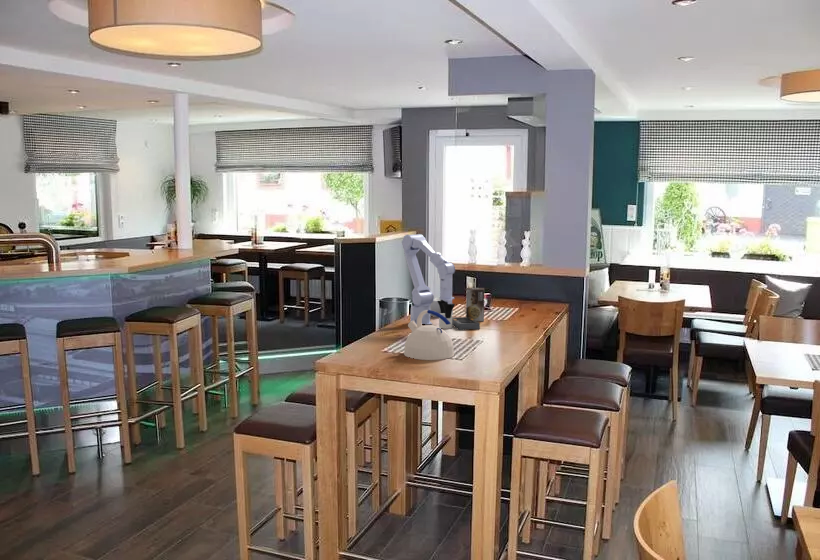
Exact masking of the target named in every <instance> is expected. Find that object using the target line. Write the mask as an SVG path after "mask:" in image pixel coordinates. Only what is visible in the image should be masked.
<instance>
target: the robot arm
mask: <svg viewBox="0 0 820 560" xmlns="http://www.w3.org/2000/svg"><path fill="white" fill-rule="evenodd" d="M401 244H402V248H403V254H404V257H405V260H406V263H407V265H406V266H407V267H408V271H409V274H410V278H411V281H412V284H413V289H412V291H411V296H412V297H411V299H412V303H413V305H411V307H410V322H411V321H415V323H416V324H417V318H418V316H419V314H420V313H421V312H423V311H425V310H430V305H431V303H432V302H433V300H434V298H435V297H434V293H433V292H432V291H431V288H430V287H429V286H428V285H426V283H425V280H424V276H423V274H422V273H423V272H422V270H421V266H420V264H419V259H418V257H417V254H418V252H419V251H420V250H421V251H422V252H423V253H425V255H427V256H428V257H429V261H430V263H432V265H433V266H434V267H435V268H436V269H437V273H438V275H439V280H440V281H439V298H440V301H437V302H438V304H439V306H440V311H441V313H445V317H446V318H450V317H451V313H452V310H453V309H454V307H455V306H456V305H455V303H453V300H455V297H454V296H453V274H455V272H456V268H455V265H454V263H453V262H451V261H450V262H449V261H448V260H447V259H446V258H445V257H444V256H443V255H442V253H441V252H438V251H436V252H435V250H434V249H433V248H432V246H431V245H430V244H429V243H428V242H427V238H426V237H424V235H423V234H421V233H418V234H405V235H404V236H403V237H402V240H401ZM453 311H454V310H453ZM410 322H409V323H410ZM422 324H425V325H433V322H432V321H431V316H430V313H426V314H424V315H423V317H422Z"/></svg>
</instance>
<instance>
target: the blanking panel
mask: <svg viewBox="0 0 820 560" xmlns="http://www.w3.org/2000/svg"><path fill="white" fill-rule="evenodd" d="M439 314H441V315H443V316H444V317H445V313H439ZM445 318H446V317H445ZM452 318H453V316H452V313H451V317H450V318H446V319H447V320H448V321H449V322H450V323H451V324H448V325H446V324H445V322H444V321H443V320H442V319H440V318H439V317H438V327H439V328H443V329H453V325H452Z"/></svg>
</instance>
